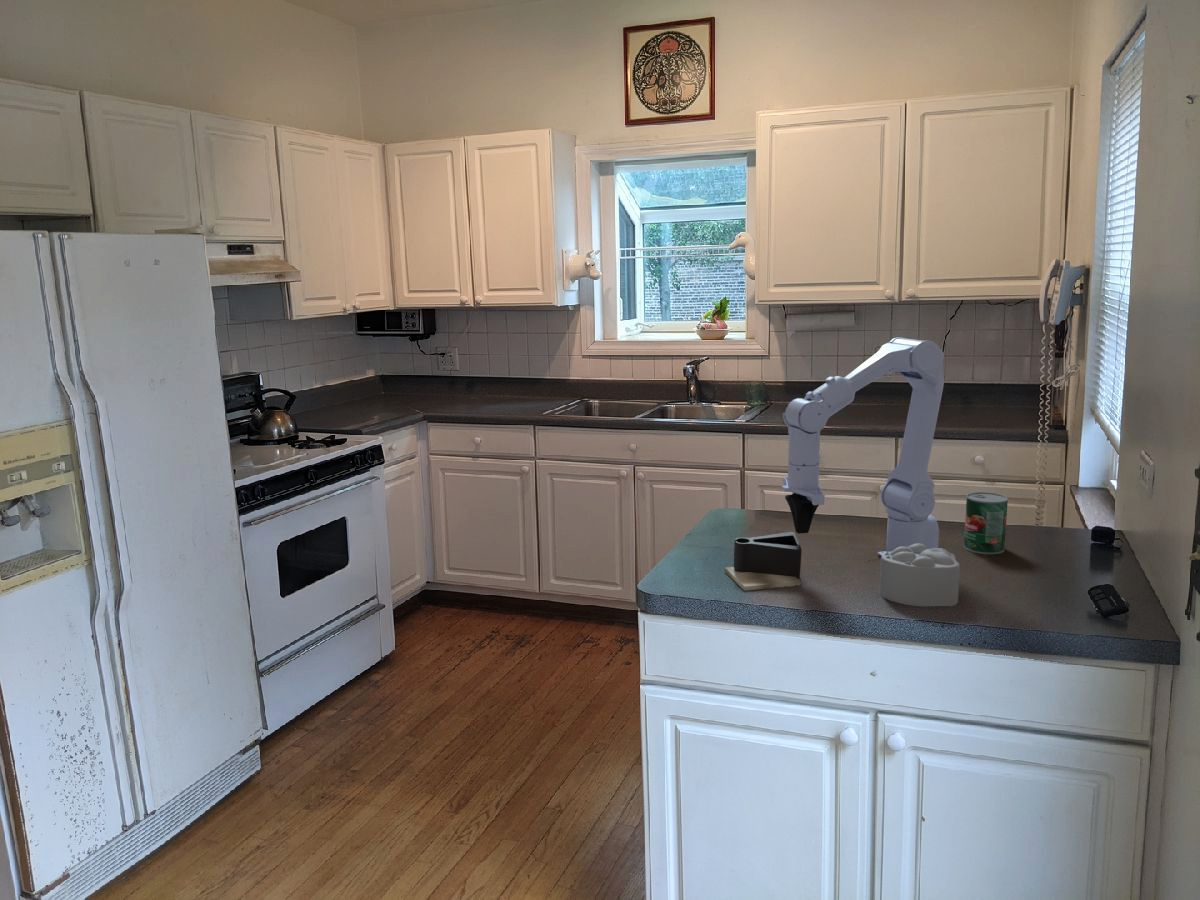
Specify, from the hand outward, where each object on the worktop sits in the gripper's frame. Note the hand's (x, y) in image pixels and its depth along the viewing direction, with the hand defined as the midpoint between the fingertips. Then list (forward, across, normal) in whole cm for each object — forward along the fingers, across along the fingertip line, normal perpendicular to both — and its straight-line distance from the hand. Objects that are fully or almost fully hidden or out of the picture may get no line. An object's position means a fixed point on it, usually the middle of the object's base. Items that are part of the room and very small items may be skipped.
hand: (802, 532), depth 178 cm
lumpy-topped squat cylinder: (+9, +16, +15) cm, 24 cm away
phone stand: (+5, -1, 0) cm, 5 cm away
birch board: (+8, 0, -8) cm, 12 cm away
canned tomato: (+9, -5, +42) cm, 44 cm away
